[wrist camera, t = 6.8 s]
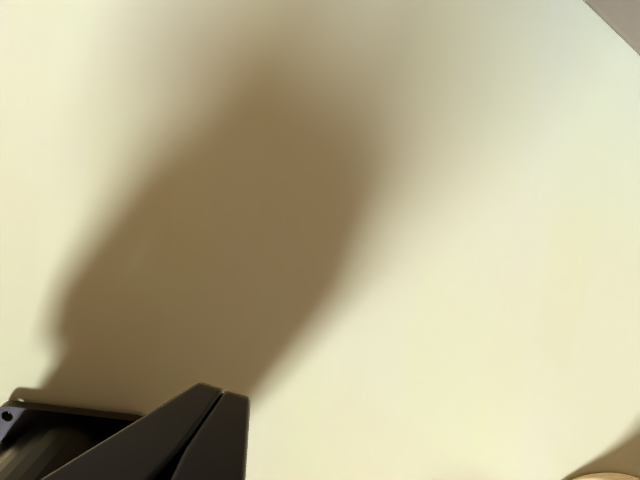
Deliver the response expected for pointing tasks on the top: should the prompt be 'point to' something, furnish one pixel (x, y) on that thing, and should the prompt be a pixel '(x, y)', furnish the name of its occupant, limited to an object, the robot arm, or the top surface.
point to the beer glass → (606, 477)
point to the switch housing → (620, 18)
